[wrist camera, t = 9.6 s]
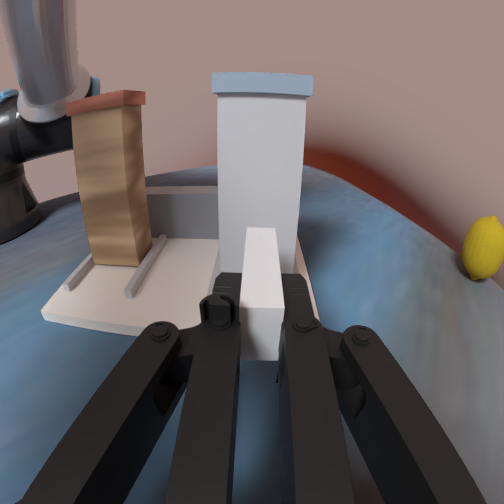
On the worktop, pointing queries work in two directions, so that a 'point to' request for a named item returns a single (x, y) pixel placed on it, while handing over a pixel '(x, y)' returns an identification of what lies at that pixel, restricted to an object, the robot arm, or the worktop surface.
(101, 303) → the switch base
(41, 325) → the worktop surface
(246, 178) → the grey tall block
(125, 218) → the beige wooden tall block
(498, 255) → the lemon
